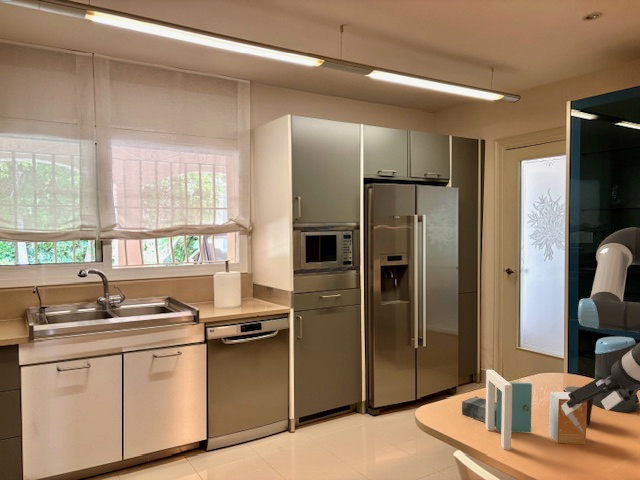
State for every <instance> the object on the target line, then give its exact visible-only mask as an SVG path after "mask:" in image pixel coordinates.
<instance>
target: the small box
mask: <svg viewBox="0 0 640 480" xmlns="http://www.w3.org/2000/svg"><path fill="white" fill-rule="evenodd" d="M569 393H571V392H564V391H549V410H548V412H549V415H548V434H549V436H550V437H551V438H552V439H553V440H554V441H555V442H556V444H572V445H573V444H575V445H586V444H587V443H586V442H587V426H586V421H587V401H585V402H583V403H582V405H581V406H580V407H578V408H577V409H576V410H574V411H573V412H572V413H571V414H569V415H566V414H565V412H564V411H563V409H562V407H561V406H562V405H563V404H564V403H565V402H566V401H568V400H569V399H570V397H569V396H568V394H569Z"/></svg>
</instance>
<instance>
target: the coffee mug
mask: <svg viewBox="0 0 640 480" xmlns="http://www.w3.org/2000/svg"><path fill="white" fill-rule="evenodd" d="M581 387H582V386H575V385H569V386H566V385H565V386H564V387H563V392H572V391H575V390H577V389H579V388H581ZM593 399H594V398H592V399H590V400H587V421H586V427H587V426H589V425H590V423H591V417H592V412H593V411H592V410H593V406H594V404H593Z"/></svg>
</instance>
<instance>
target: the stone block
mask: <svg viewBox="0 0 640 480" xmlns="http://www.w3.org/2000/svg"><path fill="white" fill-rule="evenodd" d="M496 405H497V401H495V420H494V427H496ZM461 413H462V416H465V417H467V418H470V419H473V420H477V421H481V422H483V423H485V424H486V398H481V397H478V396H475V397H474V396H473V397H470V398H468V399H466V400H462V402H461Z"/></svg>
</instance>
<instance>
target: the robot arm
mask: <svg viewBox="0 0 640 480" xmlns="http://www.w3.org/2000/svg"><path fill="white" fill-rule="evenodd" d="M595 255H596V256H595V258H596V262H597V267H596V269H595V270H596V271H595V276H594V280H593V283H592V287H591V288H592V290H591V294H590V297H588V298H582V299H580V300H579V302H578V307H577V308H578V310H577V311H578V312H577V317H578V322H579V325H580V326H582V327H586V328H592V329H600V330H611V331H617V332H618V331H621V332H626V333H627V332H628V333H629V332H630V333H636V334H640V302H632V301H624V293H625V286H626V279H627V274H628V273H627V272H628V267H630V266H631V265H636V266H640V227H627V228H626V227H625V228H623V229H620V230H617V231H615V232H613V233H612V234H610V235H609V236H607V237H605V239H604V240H602V241H601V243H600V244H599V246H598V248H597V249H596V254H595ZM594 353H595V362H594V363H595V366H594V367H595V368H594V379H593V380H592V381H591V382H588V383H586V384H585V385H583V386H580V387H581V388H579V389H577V390H575V391H572V392H571V393H569V394H568V396H569V397H570V399H569V400H568V401H566V402H565V403H564V404H563V405H562V406H561V407H562V409H563V411H564V412H565V414H566V415H569V414H571V413H572V412H573V411H574V410H576V409H577V408H578V407H580V406H581V405H582V403H583V402H585V401H587V400H590V399H592V398H594V399H593V406H596V407H598V408H601V409H604V410H605V411H614V412H622V413H625V412H626V413H632V412H633V413H634V412H637V411H639V410H640V400H639V396H638V392H639V390H640V342H639V343H636V340H635V339H634V338H633V337H627V336H606V337H602V338H598V339H597V341H596V343H595V350H594Z"/></svg>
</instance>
